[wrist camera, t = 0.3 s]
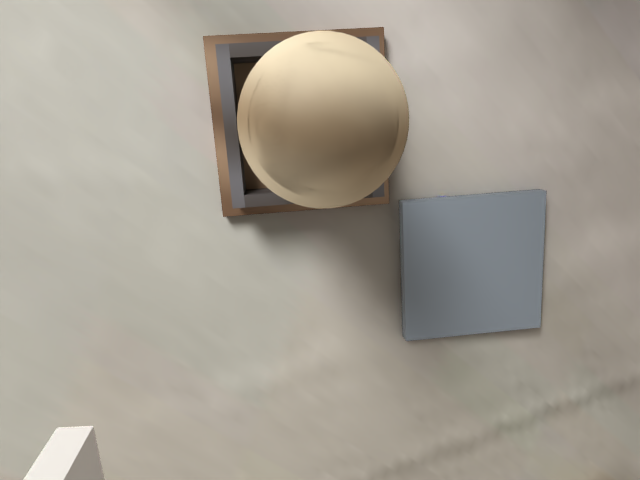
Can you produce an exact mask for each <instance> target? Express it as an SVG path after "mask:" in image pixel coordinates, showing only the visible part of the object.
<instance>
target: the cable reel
mask: <svg viewBox="0 0 640 480" xmlns="http://www.w3.org/2000/svg"><path fill="white" fill-rule="evenodd" d="M237 130H238V136H239V141H240V144H241V148H242V151H243V154H244V156H245V158H246V160H247V162H248V164H249V166H250V167H251V169H252V171H253V172H254V173H255V175H256V176H257V177H258V178H259V180H260V181H261V182H262V183H263V184H264V185H265V186H266V187H267V188H268V189H270V190H271V191H272V192H274V193H275V194H277V195H278V196H280V197H282V198H283V199H285V200H287V201H289V202H292V203H294V204H297V205H301V206H305V207H310V208H318V209H322V208H336V207H341V206H345V205H349V204H352V203H354V202H356V201H359V200H361V199H363V198H364V197H366V196H368V195H369V194H371V193H372V192H373V191H375V190H376V189H377V188H379V187H380V186H381V185H382V184H383V183H384V182H385V181H386V180H387V178H388V177H389V176H390V175H391V173H392V172H393V171H394V169H395V167H396V166H397V164H398V162H399V160H400V158H401V156H402V153H403V151H404V148H405V144H406V141H407V136H408V130H409V111H408V103H407V99H406V94H405V91H404V88H403V86H402V83H401V81H400V79H399V77H398V75H397V73H396V72H395V70H394V69H393V67H392V66H391V64H390V63H389V62H388V61H387V60H386V59H385V57H384V56H383V55H382V54H381V53H379V52H378V51H377V50H376V49H375V48H374V47H372V46H371V45H369V44H367V43H366V42H364V41H362V40H360V39H358V38H356V37H354V36H351V35H348V34H345V33H341V32H335V31H312V32H306V33H302V34H298V35H295V36H293V37H290V38H288V39H285V40H284V41H282V42H280V43H279V44H277V45H275V46H274V47H273V48H272V49H270V50H269V51H268V52H267V53H265V54H264V55H263V57H262V58H261V59H260V60H259V61H258V62H257V63H256V65H255V66H254V67H253V69H252V70H251V72H250V74H249V75H248V77H247V79H246V81H245V83H244V86H243V89H242V91H241V94H240V99H239V103H238V111H237Z"/></svg>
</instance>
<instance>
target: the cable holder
mask: <svg viewBox="0 0 640 480" xmlns="http://www.w3.org/2000/svg"><path fill="white" fill-rule="evenodd" d="M316 31H335V32H341V33H345V34H348V35H351V36H354V37H356V38H358V39H360V40H362V41H364V42H366V43H367V44H369V45H371V46H372V47H374V48H375V49H376V50H377V51H378V52H379V53H381V54H382V55H383V56H384V57H385V52H384V27H376V28H356V29H336V30H316ZM306 32H312V31H296V32H276V33H256V34H236V35H216V36H203V41H204V50H205V59H206V68H207V76H208V85H209V94H210V103H211V112H212V121H213V130H214V139H215V148H216V157H217V166H218V175H219V184H220V193H221V202H222V211H223V217H226V216H238V215H251V214H263V213H276V212H288V211H301V210H313V209H318V208H310V207H305V206H301V205H297V204H294V203H292V202H289V201H287V200H285V199H283V198H282V197H280V196H278V195H277V194H275V193H274V192H272V191H271V190H270V189H268V188H267V187H266V186H265V185H264V184H263V183H262V182H261V181H260V180H259V178H258V177H257V176H256V175H255V173H254V172H253V171H252V169H251V167H250V166H249V164H248V162H247V160H246V158H245V156H244V154H243V151H242V148H241V144H240V141H239V136H238V130H237V111H238V103H239V99H240V94H241V91H242V89H243V86H244V83H245V81H246V79H247V77H248V75H249V74H250V72H251V70H252V69H253V67H254V66H255V65H256V63H257V62H258V61H259V60H260V59H261V58H262V57H263V55H264V54H265V53H267V52H268V51H269V50H270V49H272V48H273V47H274V46H275V45H277V44H279V43H280V42H282V41H284V40H285V39H288V38H290V37H293V36H295V35H298V34H302V33H306ZM376 204H389V181H388V178H387V180H386V181H385V182H384V183H383V184H382V185H381V186H380V187H379V188H377V189H376V190H375V191H373V192H372V193H371V194H369V195H368V196H366V197H364V198H363V199H361V200H359V201H356V202H354V203H352V204H349V205H345V206H341V207H351V206H364V205H376ZM336 208H339V207H336ZM322 209H326V208H322Z"/></svg>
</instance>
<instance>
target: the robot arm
mask: <svg viewBox="0 0 640 480" xmlns="http://www.w3.org/2000/svg"><path fill="white" fill-rule="evenodd" d="M23 480H105V479H104V474H103V470H102V465H101V460H100V455H99V451H98V446H97V441H96V436H95V432H94V427H93V426H81V427H60V428H57V429H56V430H55V432H54V433H53V435H52V436H51V438H50V439H49V441H48V442H47V444H46V445H45V447H44V449H43V450H42V452H41V453H40V455H39V456H38V458H37V459H36V461H35V462H34V464H33V466H32V467H31V469H30V470H29V472H28V473H27V475H26V476H25V478H24V479H23Z"/></svg>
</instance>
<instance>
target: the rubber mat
mask: <svg viewBox="0 0 640 480" xmlns="http://www.w3.org/2000/svg"><path fill="white" fill-rule="evenodd" d="M545 212H546V191H545V190H540V189H536V190H523V191H511V192H498V193H486V194H473V195H460V196H448V197H435V198H423V199H410V200H399V214H400V253H401V291H402V329H403V337H404V339H405V340H406V341H412V340H422V339H432V338H441V337H451V336H461V335H470V334H480V333H490V332H500V331H509V330H519V329H529V328H538V327H540V324H541V301H542V279H543V257H544V234H545Z"/></svg>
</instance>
